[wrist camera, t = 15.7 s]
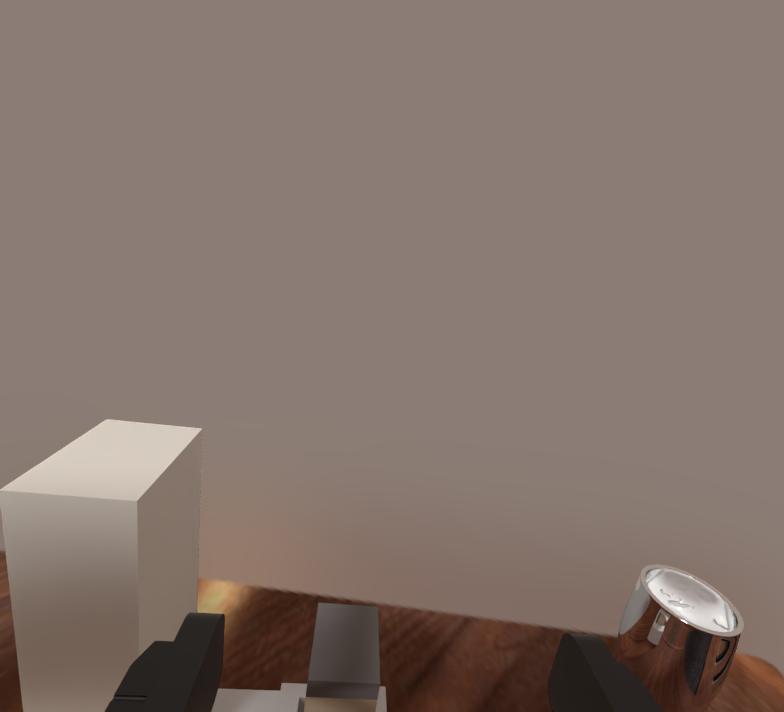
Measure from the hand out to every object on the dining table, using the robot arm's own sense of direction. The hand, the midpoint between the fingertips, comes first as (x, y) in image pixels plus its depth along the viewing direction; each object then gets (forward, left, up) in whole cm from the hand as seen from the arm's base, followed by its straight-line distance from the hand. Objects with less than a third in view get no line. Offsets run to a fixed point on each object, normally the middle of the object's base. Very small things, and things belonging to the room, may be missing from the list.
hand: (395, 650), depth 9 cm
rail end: (0, +12, -28) cm, 31 cm away
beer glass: (+26, +16, -28) cm, 42 cm away
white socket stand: (-6, +13, -28) cm, 32 cm away
